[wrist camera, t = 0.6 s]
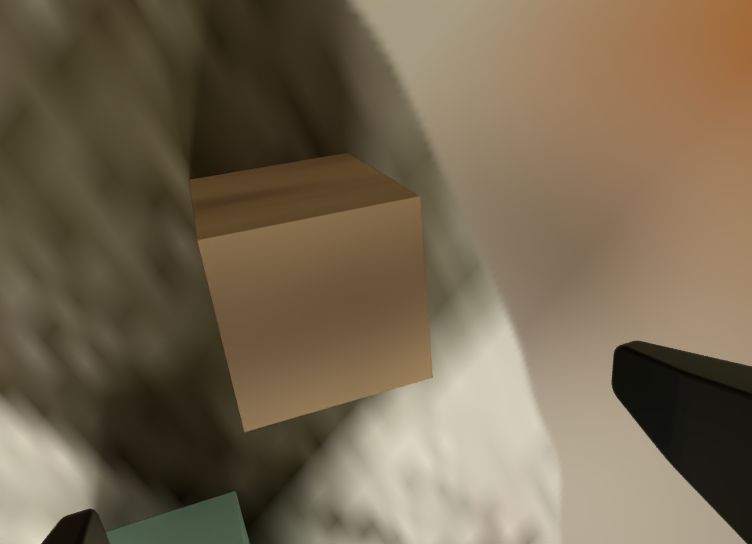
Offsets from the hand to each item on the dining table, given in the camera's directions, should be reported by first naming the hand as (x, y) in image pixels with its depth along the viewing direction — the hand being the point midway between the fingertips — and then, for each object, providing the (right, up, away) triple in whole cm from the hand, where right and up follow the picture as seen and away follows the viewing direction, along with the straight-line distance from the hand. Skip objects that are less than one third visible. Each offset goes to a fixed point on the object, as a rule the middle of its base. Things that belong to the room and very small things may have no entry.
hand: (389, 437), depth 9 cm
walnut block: (-3, +4, +9) cm, 11 cm away
